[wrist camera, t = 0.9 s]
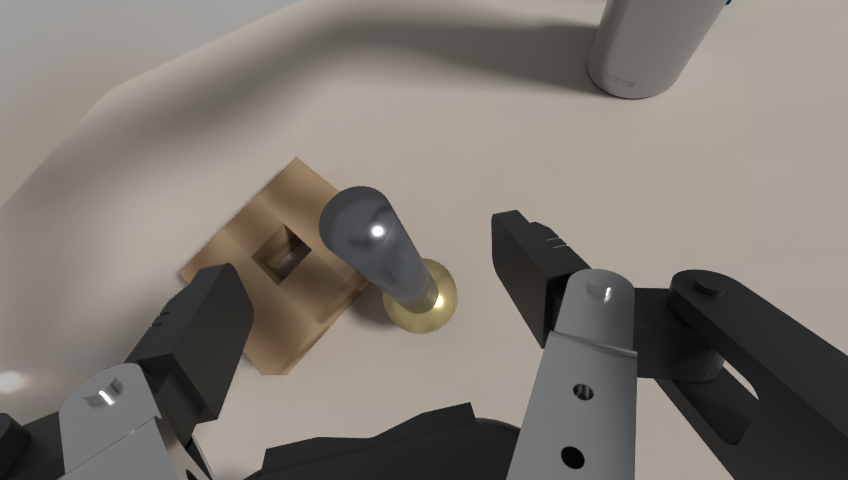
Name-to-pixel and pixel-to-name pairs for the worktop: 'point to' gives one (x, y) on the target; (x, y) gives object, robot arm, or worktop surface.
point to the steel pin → (388, 259)
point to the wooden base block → (268, 291)
